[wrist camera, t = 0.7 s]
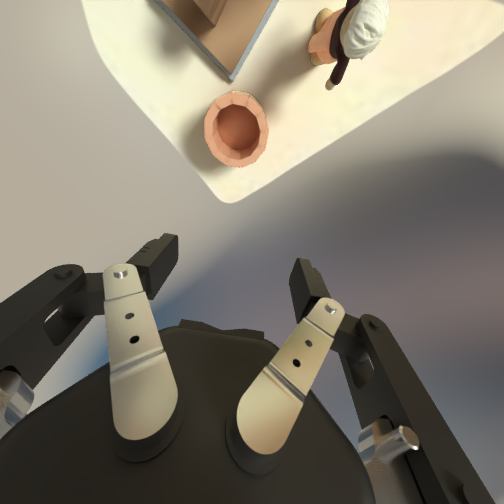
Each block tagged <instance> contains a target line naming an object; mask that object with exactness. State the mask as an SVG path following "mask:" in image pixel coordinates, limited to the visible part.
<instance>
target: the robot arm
mask: <svg viewBox="0 0 504 504" xmlns="http://www.w3.org/2000/svg"><path fill="white" fill-rule="evenodd" d="M177 261H178V236H177V235H173V234H168V233H164V234H163V235H162V236H161V237H160V238H159V239H154V240H151V241H149V242H147V243H146V244H145V245H144V246H143V248H141V249H140V250H139V251H138V252H137V253H136V254H135V255H134V256H133V257H131V258H130V259H129V260H128V261H127V262H126V263H121V264H116V265H112V266H110V267H108V268H107V269H106V270H105V271H104V272H103V273H84V270H83V268H82V267H81V266H79V265H75V264H67V265H61V266H57V267H54V268H52V269H49V270H48V271H46V272H45V273H43V274H42V275H40V276H39V277H38V278H36V279H35V280H33V281H32V282H30V283H29V284H27V285H26V286H24V287H23V288H22V289H20V290H19V291H17V292H16V293H14V294H13V295H12V296H10V297H9V298H7V299H6V300H5V301H3V302H1V303H0V504H495V502H494V500H493V499H492V497H491V496H490V494H489V492H488V491H487V489H486V487H485V486H484V484H483V482H482V481H481V479H480V478H479V476H478V474H477V473H476V471H475V469H474V468H473V466H472V464H471V463H470V461H469V459H468V458H467V456H466V455H465V453H464V451H463V450H462V448H461V447H460V445H459V443H458V441H457V440H456V438H455V437H454V435H453V434H452V432H451V430H450V429H449V427H448V425H447V423H446V422H445V420H444V419H443V417H442V415H441V414H440V412H439V410H438V409H437V407H436V405H435V404H434V402H433V401H432V399H431V397H430V396H429V394H428V392H427V391H426V389H425V388H424V386H423V384H422V382H421V381H420V379H419V378H418V376H417V374H416V373H415V371H414V370H413V368H412V366H411V364H410V363H409V361H408V360H407V358H406V356H405V355H404V353H403V352H402V350H401V348H400V346H399V345H398V343H397V341H396V340H395V338H394V337H393V335H392V333H391V332H390V330H389V328H388V327H387V326H386V324H385V323H384V322H383V321H381V320H380V319H379V318H377V317H375V316H373V315H370V314H364V315H362V316H361V317H360V319H358V318H355V317H353V316H351V315H348V314H346V313H345V312H344V309H343V307H342V306H341V305H340V304H339V303H338V302H336V301H335V300H333V299H331V297H330V294H329V292H328V290H327V288H326V285H325V283H324V281H323V279H322V276H321V274H320V273H319V272H318V271H317V270H316V269H315V268H312V266H311V263H310V261H309V260H307V259H302V258H297V260H296V262H295V264H294V267H293V270H292V272H291V275H290V278H289V286H290V291H291V296H292V301H293V306H294V311H295V316H296V321H297V324H299V325H298V326H297V327H296V329H295V330H294V331H293V333H292V334H291V335H290V337H289V338H288V339H287V341H286V342H285V343H284V344H283V346H282V347H281V348H280V349H279V348H278V347H277V346H276V345H275V344H273V343H272V342H270V341H268V340H266V339H264V332H262V331H256V330H249V329H234V330H220V329H217V328H215V327H213V326H210V325H208V324H205V323H203V322H198V321H190V320H184V319H181V321H180V324H179V326H172V327H168V328H164V329H162V330H159V331H158V330H157V327H156V324H155V321H154V318H153V315H152V312H151V308H150V305H149V302H148V299H149V300H153V299H154V297H155V296H156V294H157V293H158V291H159V290H160V288H161V287H162V285H163V283H164V282H165V281H166V279H167V277H168V276H169V274H170V273H171V271H172V270H173V268H174V267H175V265H176V263H177ZM56 309H58V311H57V312H56V313H55V314H54V315H52V316H51V318H50V319H48V320H47V321H46V322H45V320H46V318H47V317H48V316H49V315H50V314H51V313H52V312H53V311H54V310H56ZM95 315H105V320H106V331H107V341H108V351H109V362H108V363H106V364H105V365H103V366H102V367H100V368H99V369H97V370H95V371H94V372H93V373H91V374H89V375H88V376H86V377H84V378H83V379H81V380H80V381H78V382H77V383H75V384H74V385H72V386H70V387H69V388H67V389H66V390H64V391H63V392H61V393H60V394H58V395H56V396H55V397H53V398H52V399H50V400H49V401H47V402H45V403H44V404H42V405H41V406H40V407H38V408H36V409H35V410H33V411H32V412H30V413H29V414H27V411H28V410H29V408H30V407H31V405H32V403H33V400H34V392H33V389H34V388H35V387H36V385H37V384H38V383H39V382H40V381H41V379H42V378H43V377H44V376H45V374H46V373H47V372H48V371H49V370H50V369H51V367H52V366H53V365H54V364H55V363H56V361H57V360H58V359H59V358H60V357H61V355H62V354H63V353H64V352H65V351H66V349H67V348H68V347H69V346H70V345H71V343H72V342H73V341H74V340H75V338H76V337H77V336H78V335H79V334H80V332H81V331H82V330H83V329H84V328H85V326H86V325H87V324H88V323H89V322H90V320H91V319H92V318H93V317H94V316H95ZM44 322H45V323H44ZM329 349H331V350H333V351H336V352H338V353H339V356H340V359H341V363H342V366H343V369H344V373H345V376H346V379H347V382H348V386H349V389H350V392H351V395H352V399H353V402H354V405H355V408H356V412H357V415H358V418H359V421H360V425H361V428H362V431H361V432H360V433H359V436H358V446H359V454H358V452H357V451H356V449H355V448H354V446H353V445H352V443H351V442H350V441H349V439H348V438H347V437H346V435H345V434H344V433H343V431H342V430H341V429H340V427H339V426H338V425H337V424H336V422H335V421H334V419H333V418H332V417H331V415H330V414H329V413H328V411H327V410H326V409H325V407H324V406H323V405H322V404H321V402H320V401H319V399H318V398H317V397H316V395H315V394H314V393H313V391H312V390H311V389H310V387H311V385H312V383H313V381H314V379H315V377H316V375H317V373H318V371H319V369H320V366H321V365H322V363H323V360H324V358H325V356H326V354H327V352H328V350H329ZM369 357H370V359H371V362H372V364H373V367H374V370H373V368H372V365H371V363H370V361H369V359H368V358H369Z"/></svg>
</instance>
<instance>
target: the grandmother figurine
mask: <svg viewBox="0 0 504 504" xmlns="http://www.w3.org/2000/svg"><path fill="white" fill-rule="evenodd" d="M388 15H389V8H388V5H387V0H347V3H346V7H344V8H342V9H340V10H338V11H336V12H334V13H333V12H332V11H331V10H330V9H329V8H324V9H323V10H321V11H320V13H319V14H318V17H317V20H316V24H315V27H316V31H317V33H316V34H314V35H313V36H312V38H311V40H310V42H309V47H308V51H309V53H311V62H312V64H314V65H320V64H324V63H325V64H330V63H333V62H335V61H337V64H336V66H335V67H334V69H333V71H332V74H331V76H330V78H329V79H328V80H327V82H326V84H325V87H326V89H327V90H332V89H333V88H334V86H335V85H338V84H339V83H340V82H341V80H342V78H343V75H344V72H345V70H346V67H347V65H348V62H349V59H350V58H351V59H357V58H360V59H361V60H362V59H363V58H364V57H365V56H366V55H367V54H368V53H370V52H371V51H373V50H374V49H375V48H376V46H377V45H378V44H379V42H380V41H381V38H382V36H383V34H384V33H385V30H386V27H387V23H388Z"/></svg>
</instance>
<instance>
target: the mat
mask: <svg viewBox="0 0 504 504" xmlns="http://www.w3.org/2000/svg"><path fill="white" fill-rule="evenodd" d="M155 1H156V2H157V3H158V4H159V5H160V6H161V7H162V8H163V9H164V10H165V11H166V12H167V13H168V15H169V16H170V17H171V18H172V19H173V20H174V21H175V22H176V23H177V24H178V25H179V26H180V27H181V28H182V29H183V30H184V31H185V32H186V33H187V34H188V35H189V36H190V37H191V39H192V40H193V41H194V42H195V43H196V44H197V45H198V46H199V47H200V48H201V49H202V50H203V51H204V52H205V53H206V54H207V55H208V56H209V57H210V58H211V59H212V60H213V62H214V63H215V64H216V65H217V66H218V67H219V68H220V69H221V70H222V71H223V72H224V73H225V74H226V75H227V76H228V77H229V78H230V79H231V80H232V81H234V79H235V78H236V76H237V74H238V72H239V70H240V69H241V67H242V65H243V63H244V61H245V60H246V58H247V56H248V54H249V53H250V51H251V49H252V47H253V45H254V44H255V42H256V40H257V38H258V37H259V35H260V33H261V31H262V29H263V28H264V26H265V24H266V22H267V21H268V19H269V17H270V15H271V13H272V12H273V10H274V8H275V6H276V4H277V3H278V1H279V0H272V2H271V4H270V6H269V8H268V9H267V11H266V13H265V15H264V17H263V18H262V20H261V22H260V24H259V26H258V28H257V29H256V31H255V33H254V35H253V37H252V39H251V40H250V42H249V44H248V46H247V48H246V50H245V51H244V53H243V55H242V57H241V59H240V61H239V62H238V64H237V66H236V68H235V70H234V71H233V73H232V74H231V73H230V72H229V71H228V70H227V69H226V68H225V67H224V66H223V65H222V64H221V63H220V62H219V61H218V59H217V58H216V57H215V56H214V55H213V54H212V53H211V52H210V51H209V50H208V49H207V48H206V47H205V46H204V45H203V44H202V42H201V41H200V40H199V39H198V38H197V37H196V36H195V35H194V34H193V33H192V32H191V31H190V30H189V29H188V28H187V27H186V26H185V24H184V23H183V22H182V21H181V20H180V19H179V18H178V17H177V16H176V15H175V14H174V13H173V12H172V11H171V10H170V9H169V7H168V6H167V5H166V4H165V3H164V2H163V1H162V0H155Z"/></svg>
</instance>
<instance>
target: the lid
mask: <svg viewBox="0 0 504 504" xmlns="http://www.w3.org/2000/svg"><path fill="white" fill-rule="evenodd" d="M162 1H163V2H164V3H165V4H166V5H167V6H168V7H169V9H170V10H171V11H172V12H173V13H174V14H175V15H176V16H177V17H178V18H179V19H180V20H181V21H182V22H183V23H184V24H185V26H186V27H187V28H188V29H189V30H190V31H191V32H192V33H193V34H194V35H195V36H196V37H197V38H198V39H199V40H200V41H201V42H202V44H203V45H204V46H205V47H206V48H207V49H208V50H209V51H210V52H211V53H212V54H213V55H214V56H215V57H216V58H217V59H218V61H219V62H220V63H221V64H222V65H223V66H224V67H225V68H226V69H227V70H228V71H229V72H230V73H231V74H232V73H233V71H234V70H235V68H236V66H237V64H238V62H239V61H240V59H241V57H242V55H243V53H244V51H245V50H246V48H247V46H248V44H249V42H250V40H251V39H252V37H253V35H254V33H255V31H256V29H257V28H258V26H259V24H260V22H261V20H262V18H263V17H264V15H265V13H266V11H267V9H268V8H269V6H270V4H271V2H272V0H162Z"/></svg>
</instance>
